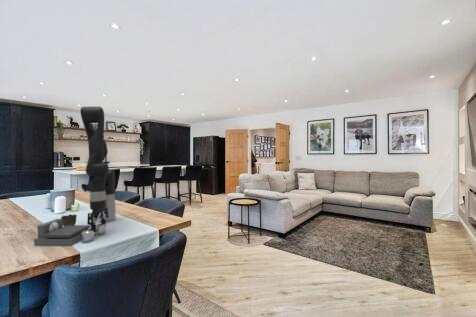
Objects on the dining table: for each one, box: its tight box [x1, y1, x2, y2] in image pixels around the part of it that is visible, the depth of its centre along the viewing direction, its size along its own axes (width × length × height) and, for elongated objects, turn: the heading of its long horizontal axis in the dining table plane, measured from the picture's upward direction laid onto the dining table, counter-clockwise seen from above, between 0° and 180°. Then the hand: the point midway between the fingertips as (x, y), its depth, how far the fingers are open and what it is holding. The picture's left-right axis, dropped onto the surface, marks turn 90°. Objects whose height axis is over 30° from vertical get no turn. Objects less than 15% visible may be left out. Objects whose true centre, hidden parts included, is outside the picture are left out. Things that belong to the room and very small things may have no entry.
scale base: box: [33, 218, 91, 247], centre depth 122 cm, size 16×18×9 cm
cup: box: [60, 213, 78, 227], centre depth 138 cm, size 8×7×8 cm
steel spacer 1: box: [81, 230, 95, 244], centre depth 119 cm, size 5×5×5 cm
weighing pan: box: [43, 224, 91, 237], centre depth 122 cm, size 15×13×1 cm
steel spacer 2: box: [93, 223, 106, 237], centre depth 129 cm, size 5×5×5 cm
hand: (98, 229), depth 129 cm, fingers open, 8 cm apart
